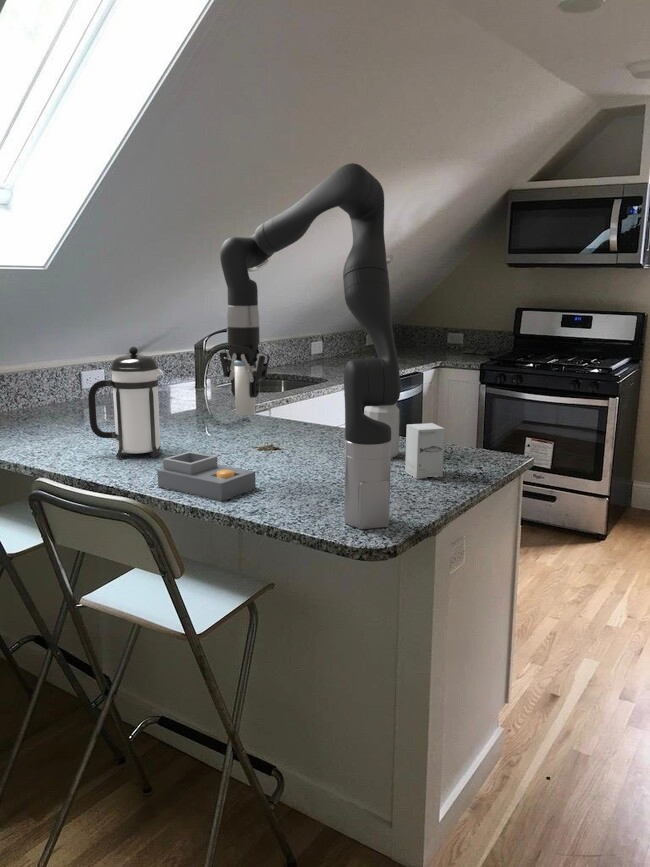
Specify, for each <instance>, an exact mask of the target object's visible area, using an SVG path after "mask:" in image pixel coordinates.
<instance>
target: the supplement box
mask: <svg viewBox="0 0 650 867" xmlns="http://www.w3.org/2000/svg"><path fill="white" fill-rule="evenodd" d="M405 438H406V439H405V440H406V441H405V464H404V466H405V467H404V468H405V469H404V470H405V471H404V472H405V473H406V474H407V475H409V476H410V477H412V476H413V477H412V478H413V479H415V478H416V479H415V480H419V479H428V478H427V477H434V478H436V477H435V476H442V477H444V476H443V473H444V454H445V453H444V451H445V450H444V448H445V428H444V427H442V426H440V425H438V424H436V423H433V422H429V423H412V424H411V423H409V424H406V436H405Z"/></svg>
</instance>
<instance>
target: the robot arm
mask: <svg viewBox="0 0 650 867" xmlns="http://www.w3.org/2000/svg"><path fill="white" fill-rule="evenodd" d="M384 192H385V191H384V188H383V186H382V184H381V183H380V181H379V180H378V179H377V178H376V177H375V176H374V175H373V174H372V173H370V172H369V171H368V169H366V168H364V166H362V165H360V164H358V163H355V162H354V163H353V162H351V163H347V164H344V165H342V166H341V167H340V168H338V169H336V170H334V172H332V173H330V175H328V176H327V177H326V178H325V179H324V180H322V181H321V182H320V183H319V184H317V185H315V187H313V188H312V189H311V190H310V191H308V193H306V194H305V195H304V196H303V197H301V198H300V199H299V200H297V201H296V202H295V203H294V204H292V205H291V206H290V207H288V208H287V209H286V210H283V211H282V212H280V213H278V214H277V215H275V216H273V217H271V218H270V219H267V220H266V221H264V222H262V223H261V224H259V225H258V226H257V228H256V229H255V232H254V233H253V234H252V235H249V236H247V237H241V236H231V237H228V238H227V239H226V240H224V241H223V243H222V245H221V248H220V252H219V258H220V259H219V260H220V265H221V269H222V273H223V276H224V280H225V281H224V282H225V284H226V287H227V314H226V321H227V322H226V324H227V344H228V345H229V349H228V351H223V352H222V351H221V352H220V353H219V355H218V356H219V358H220V364H221V367H222V373H223V376H224V377H226V378H228V379H229V380H230V387H231V388H230V389H231V393H232V396H234V397H235V371H234V360H235V361H236V360H241V361H245V370H246V373H248V376H249V379H250V382H249V388H250V397H251V398H254V397H255V398H257V397H258V395H259V394H260V381H261V380H265V379H266V377H267V374H268V372H267V371H268V368H269V361H270V355H269V354H262V353H260V350H259V346H260V341H261V340H260V339H261V338H260V313H259V305H258V304H259V303H258V302H259V301H258V300H259V299H258V295H259V294H258V284H257V282H256V281H255V280H253V279H251V278H250V274H249V269H254V268H255V267H258V266H260V265H262V264H263V263H264V262H266V261H267V260H268V259H270V257H272V256H273V255H274V254H275V253H277V252H280V251H281V250H283V249H285V248H288V247H289V246H291V245H292V244H295V243H296V242H298V241H299V240H300V239H302V237H304V235H305V234H306V233H307V231H309V228H310V227H311V225H312V224H313V223H314V222H315V220H316V218H318V217H319V216H320V215H321V214H323V213H325V212H327V211H330V210H331V209H334V208H340V209H341V210H342V211H344V212H345V213H346V214H348V216H349V219H350V223H351V232H352V245H351V248H350V252H349V253H348V255H347V258H346V261H345V263H344V265H343V272H342V274H343V275H342V278H343V291H344V300H345V303H346V306H347V308H348V310H349V311H350V312H351V314H352V315H353V317H354V318H355V320H356V321H357V322H358V324H360V326H361V327H362V329H364V331H365V332H366V334H367V335H368V337H369V338H370V340H371V342H372V344H373V346H374V349H375V352H376V354H377V358H375V359H374V358H369V359H368V358H367V359H366V358H365V359H364V358H363V359H362V358H361V359H360V358H359V359H350V360H349V361H347V362H346V365H345V367H344V370H343V391H344V392H343V393H344V394H343V395H344V428H345V429H344V519H343V520H344V522H345V524H347V525H348V526H350V527H354V528H356V529H358V530H367V529H368V530H369V529H378V528H379V529H380V528H388V527H389V523H390V521H391V520H390V519H391V518H390V512H391V511H390V510H391V505H390V504H391V502H390V500H391V469H392V468H391V466H392V464H391V463H392V462H391V460H392V459H391V427H390V426H389V425H388V424H386V423H383V422H380V421H377V420H374V419H372V418H370V417H368V416H366V415H365V414H364V412H363V411H364V410H363V408H364V407H366V406H389V405H394V404H396V403H397V404H398V402H399V400H400V396H401V389H402V388H401V385H402V384H401V375H400V367H399V366H400V365H399V361H398V355H397V348H396V343H395V338H394V336H395V335H394V330H393V320H392V307H391V290H390V278H389V271H388V264H387V252H386V250H387V249H386V241H385V193H384ZM254 364H255V365H254ZM252 365H254V366H255V367H254V368H252V369H251V368H250V366H252ZM253 372H254V375H253ZM397 404H396V405H397Z"/></svg>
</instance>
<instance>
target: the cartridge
mask: <svg viewBox="0 0 650 867" xmlns="http://www.w3.org/2000/svg"><path fill="white" fill-rule="evenodd" d="M254 365H255V364H254ZM254 365H252V366H250V368H251V369H252V368H254V367H255V366H254ZM234 371H235V396H234V402H235V415H236V416H253V415H256V412H257V411H256V397H254V398H251V397H250V388H249V382H250V379H249V376H248V373H246V370H245V361H241V360H236V361H235V360H234ZM253 375H254V372H253Z"/></svg>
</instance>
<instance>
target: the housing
mask: <svg viewBox="0 0 650 867" xmlns="http://www.w3.org/2000/svg"><path fill="white" fill-rule="evenodd" d="M162 464H163V465H162V466H163V468H161V469H157V470H156V471H157V472H156V473H157V486H160V488H163V487H164V489H167V488H168V490H171V489H172V491H176V490H177V491H176V492H180V491H182V492H181V493H185V492H187V493H186V494H189V493H191V494H190V495H193V494H195V495H194V496H198V495H199V496H198V497H202V496H204V497H203V498H207V497H208V499H211V498H212V499H211V500H217V501H220V502H222V500H223V501H225V500H227V499H230V498H233V497H236V496H239V495H242V494H244V493H247V492H250V491H252V490H254V489H256V487H257V486H256V485H257V484H256V483H257V482H256V471H253V470H248V469H245V468H238V467H234V466H233V467H232V466H228V465H222V464H218V456H217V455H211V454H205V453H200V452H197V451H196V452H195V451H187V452H183V453H180V454H179V453H178V454H175V455H173V456H168V457H166V458H163V459H162ZM220 470H232V471H234V477H231V478H228V479H224V478H219V477H217V471H220Z"/></svg>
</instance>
